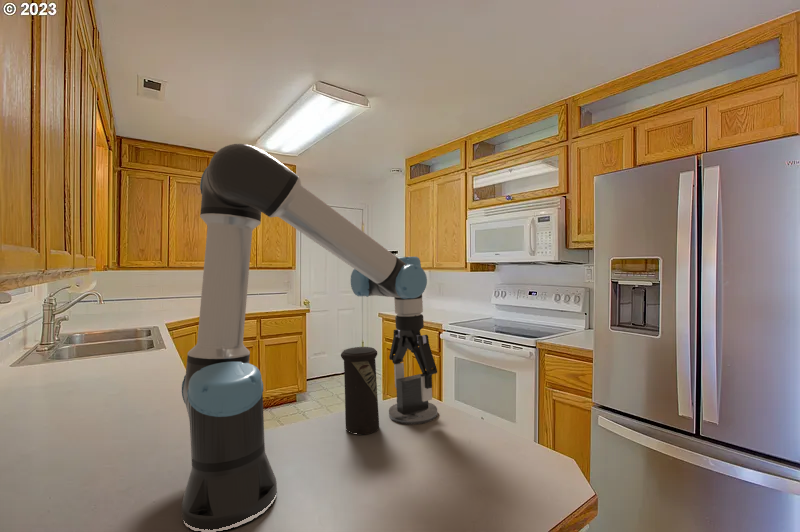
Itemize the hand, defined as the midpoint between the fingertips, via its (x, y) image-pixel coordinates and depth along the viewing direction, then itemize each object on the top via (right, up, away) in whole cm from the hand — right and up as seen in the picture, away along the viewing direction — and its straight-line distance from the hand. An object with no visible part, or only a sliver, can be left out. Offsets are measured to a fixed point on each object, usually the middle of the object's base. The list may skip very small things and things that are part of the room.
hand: (412, 393), depth 104 cm
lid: (0, -6, 0) cm, 6 cm away
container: (-13, -6, -8) cm, 16 cm away
